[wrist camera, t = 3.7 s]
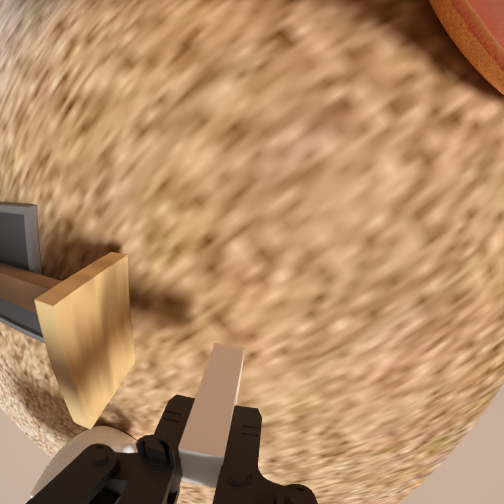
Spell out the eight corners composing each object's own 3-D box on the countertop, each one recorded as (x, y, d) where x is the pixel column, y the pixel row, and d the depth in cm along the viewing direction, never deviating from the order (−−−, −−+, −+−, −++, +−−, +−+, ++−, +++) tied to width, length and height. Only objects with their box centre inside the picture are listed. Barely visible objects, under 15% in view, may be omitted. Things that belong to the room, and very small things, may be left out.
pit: (-17, 201, 18) (-24, 202, 17) (36, 205, 17) (28, 207, 16) (0, 314, 21) (-5, 318, 20) (55, 339, 21) (49, 345, 20)
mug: (115, 384, 21) (45, 494, 9) (207, 450, 23) (179, 561, 10) (69, 425, 25) (23, 495, 13) (138, 474, 27) (108, 547, 14)
